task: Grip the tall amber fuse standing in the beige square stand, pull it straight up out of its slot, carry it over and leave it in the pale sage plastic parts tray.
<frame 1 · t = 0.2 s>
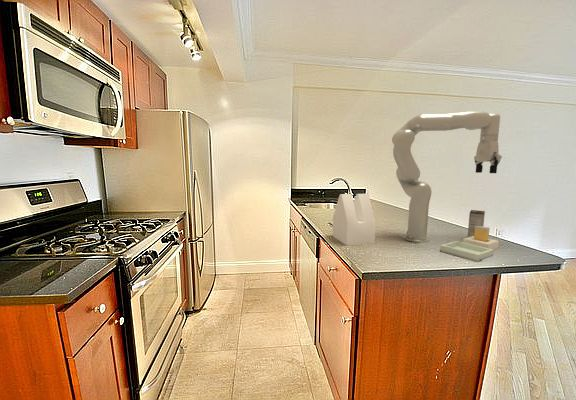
hand: (485, 172, 141), 37 cm above the worktop, tool pointing down, fingers open, 9 cm apart
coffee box: (474, 241, 147), on the worktop
fuse: (480, 246, 135), resting on beige square stand
white notched block: (352, 240, 148), on the worktop
beige square stand: (480, 247, 135), on the worktop
parts tray: (465, 253, 126), on the worktop
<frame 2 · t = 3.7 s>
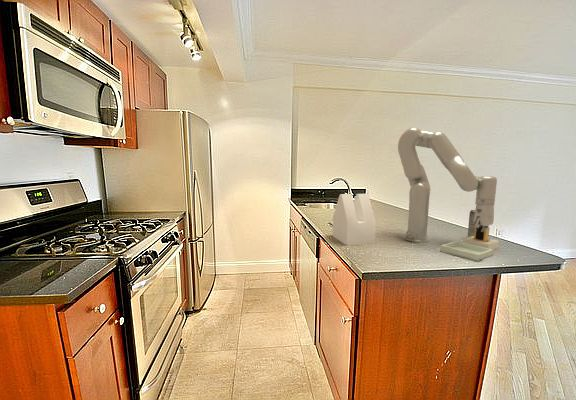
hand: (481, 238, 134), 5 cm above the worktop, tool pointing down, fingers closed on fuse, 2 cm apart
fuse: (479, 246, 135), point 1 cm above the worktop, touching gripper
everything else where it was.
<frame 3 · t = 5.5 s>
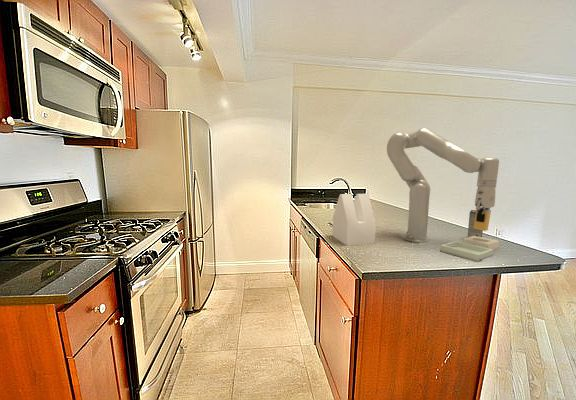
hand: (481, 221, 133), 13 cm above the worktop, tool pointing down, fingers closed on fuse, 3 cm apart
fuse: (480, 229, 134), point 9 cm above the worktop, touching gripper
everything else where it was.
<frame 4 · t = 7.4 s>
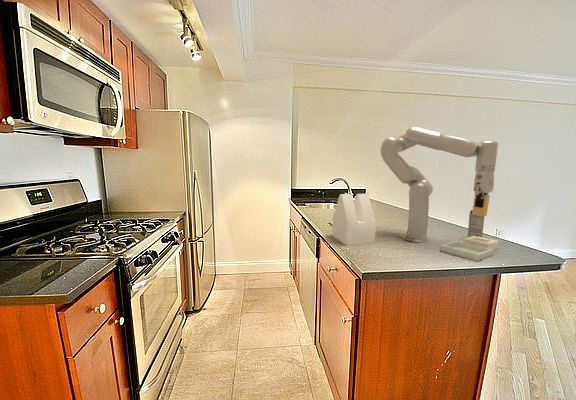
hand: (480, 206, 130), 21 cm above the worktop, tool pointing down, fingers closed on fuse, 3 cm apart
fuse: (479, 215, 131), point 17 cm above the worktop, touching gripper
everything else where it was.
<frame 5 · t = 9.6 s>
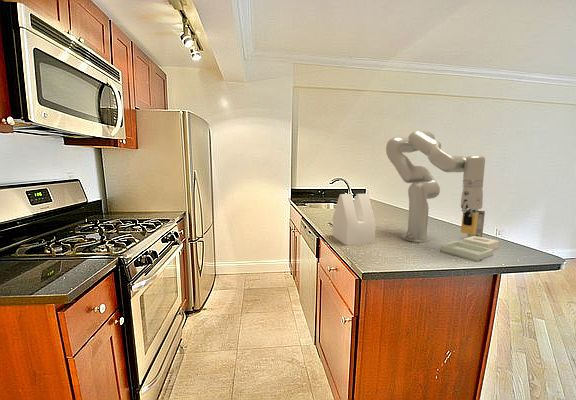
hand: (469, 224, 123), 14 cm above the worktop, tool pointing down, fingers closed on fuse, 3 cm apart
fuse: (468, 233, 124), point 10 cm above the worktop, touching gripper
everything else where it was.
when the fingers open (6 cm above the worktop, at t = 11.3 s): fuse drops 1 cm, resting on parts tray.
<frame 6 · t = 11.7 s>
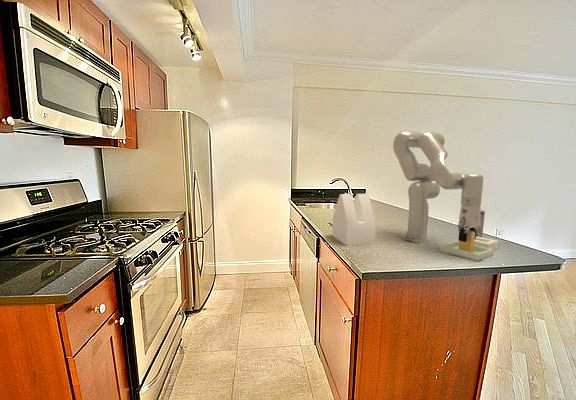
hand: (467, 239, 125), 7 cm above the worktop, tool pointing down, fingers open, 7 cm apart
fuse: (465, 251, 126), point 1 cm above the worktop, touching parts tray
everything else where it was.
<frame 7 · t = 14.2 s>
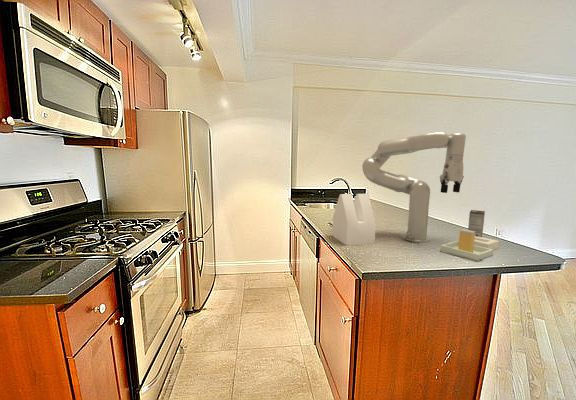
hand: (450, 192, 139), 27 cm above the worktop, tool pointing down, fingers open, 9 cm apart
nothing on the worktop moved.
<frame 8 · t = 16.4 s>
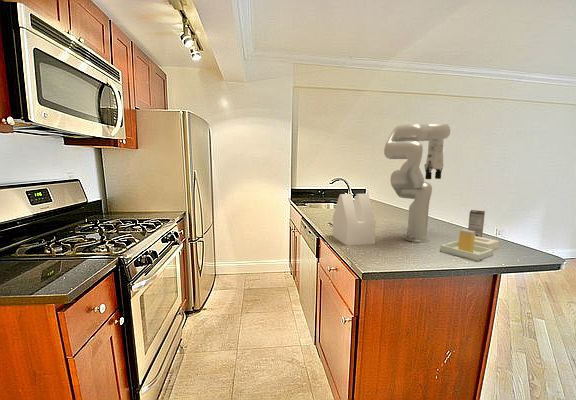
hand: (433, 178, 159), 32 cm above the worktop, tool pointing down, fingers open, 9 cm apart
nothing on the worktop moved.
at the end: fuse inside the target area on the parts tray (0.2 cm from its centre), point 0.8 cm above the parts tray's base; fuse touching parts tray; the gripper is holding nothing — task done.
